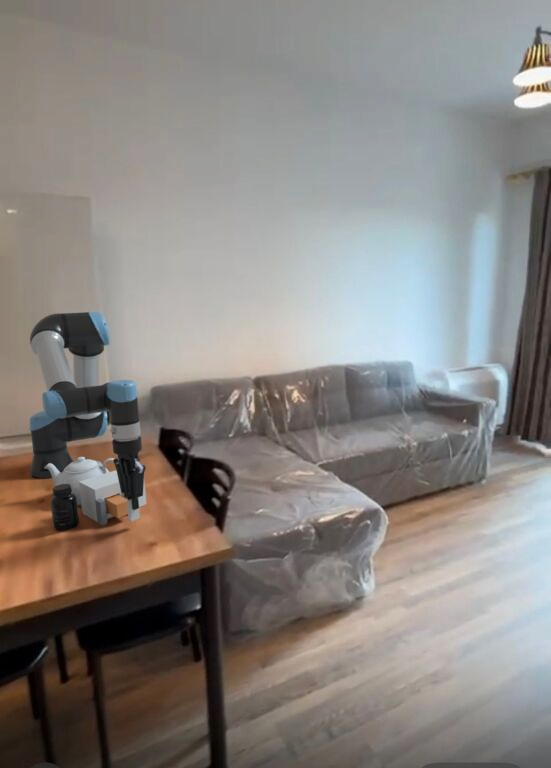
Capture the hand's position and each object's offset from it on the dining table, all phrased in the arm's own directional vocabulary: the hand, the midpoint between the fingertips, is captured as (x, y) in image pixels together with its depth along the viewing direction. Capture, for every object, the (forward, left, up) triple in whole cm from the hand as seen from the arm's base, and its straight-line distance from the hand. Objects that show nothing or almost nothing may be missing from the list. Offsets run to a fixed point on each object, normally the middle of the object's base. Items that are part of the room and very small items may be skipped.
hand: (134, 518), depth 135 cm
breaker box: (-15, +3, -3) cm, 16 cm away
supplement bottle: (-17, -12, -3) cm, 21 cm away
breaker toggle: (-9, 0, -1) cm, 9 cm away
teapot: (-33, +2, -3) cm, 33 cm away
